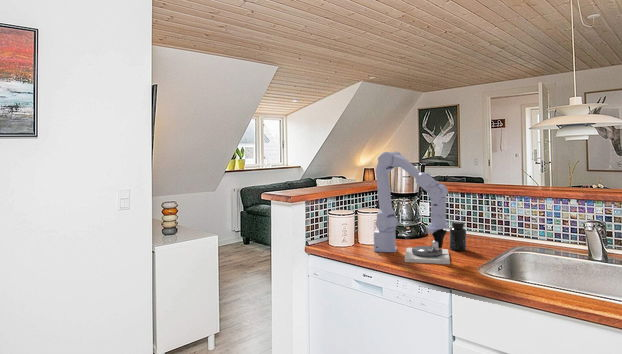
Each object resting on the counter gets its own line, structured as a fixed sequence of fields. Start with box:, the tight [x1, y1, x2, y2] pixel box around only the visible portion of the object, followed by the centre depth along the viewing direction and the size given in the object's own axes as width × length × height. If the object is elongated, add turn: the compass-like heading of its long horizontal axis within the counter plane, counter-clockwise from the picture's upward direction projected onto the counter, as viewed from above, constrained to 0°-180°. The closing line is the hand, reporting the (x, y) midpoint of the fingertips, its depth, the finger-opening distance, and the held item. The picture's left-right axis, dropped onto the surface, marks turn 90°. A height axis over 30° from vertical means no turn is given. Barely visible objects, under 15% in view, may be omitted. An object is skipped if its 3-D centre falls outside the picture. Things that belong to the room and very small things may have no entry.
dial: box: [411, 239, 443, 257], centre depth 157 cm, size 12×12×6 cm
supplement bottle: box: [449, 221, 467, 252], centre depth 167 cm, size 7×7×12 cm
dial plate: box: [404, 247, 451, 265], centre depth 157 cm, size 17×17×2 cm
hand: (438, 247), depth 154 cm, fingers closed, pressing on dial
